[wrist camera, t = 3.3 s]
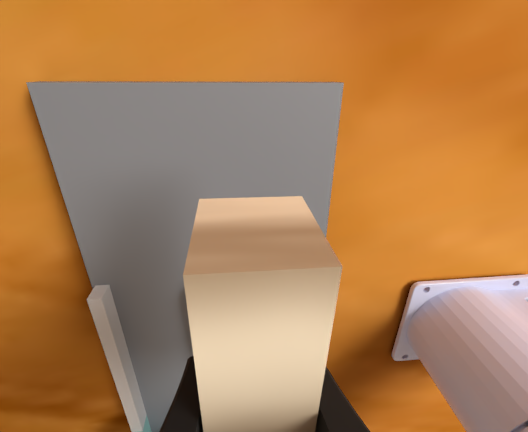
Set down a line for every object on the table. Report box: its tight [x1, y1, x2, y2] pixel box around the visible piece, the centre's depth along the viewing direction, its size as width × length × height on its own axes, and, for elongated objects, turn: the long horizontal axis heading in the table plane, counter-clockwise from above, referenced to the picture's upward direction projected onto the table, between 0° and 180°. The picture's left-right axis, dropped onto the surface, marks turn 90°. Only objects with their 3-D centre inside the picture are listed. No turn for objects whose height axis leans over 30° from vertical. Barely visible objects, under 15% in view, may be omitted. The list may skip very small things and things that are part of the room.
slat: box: [183, 196, 342, 432], centre depth 10 cm, size 12×3×4 cm, turn 179°
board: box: [26, 82, 344, 432], centre depth 18 cm, size 14×30×6 cm, turn 0°
